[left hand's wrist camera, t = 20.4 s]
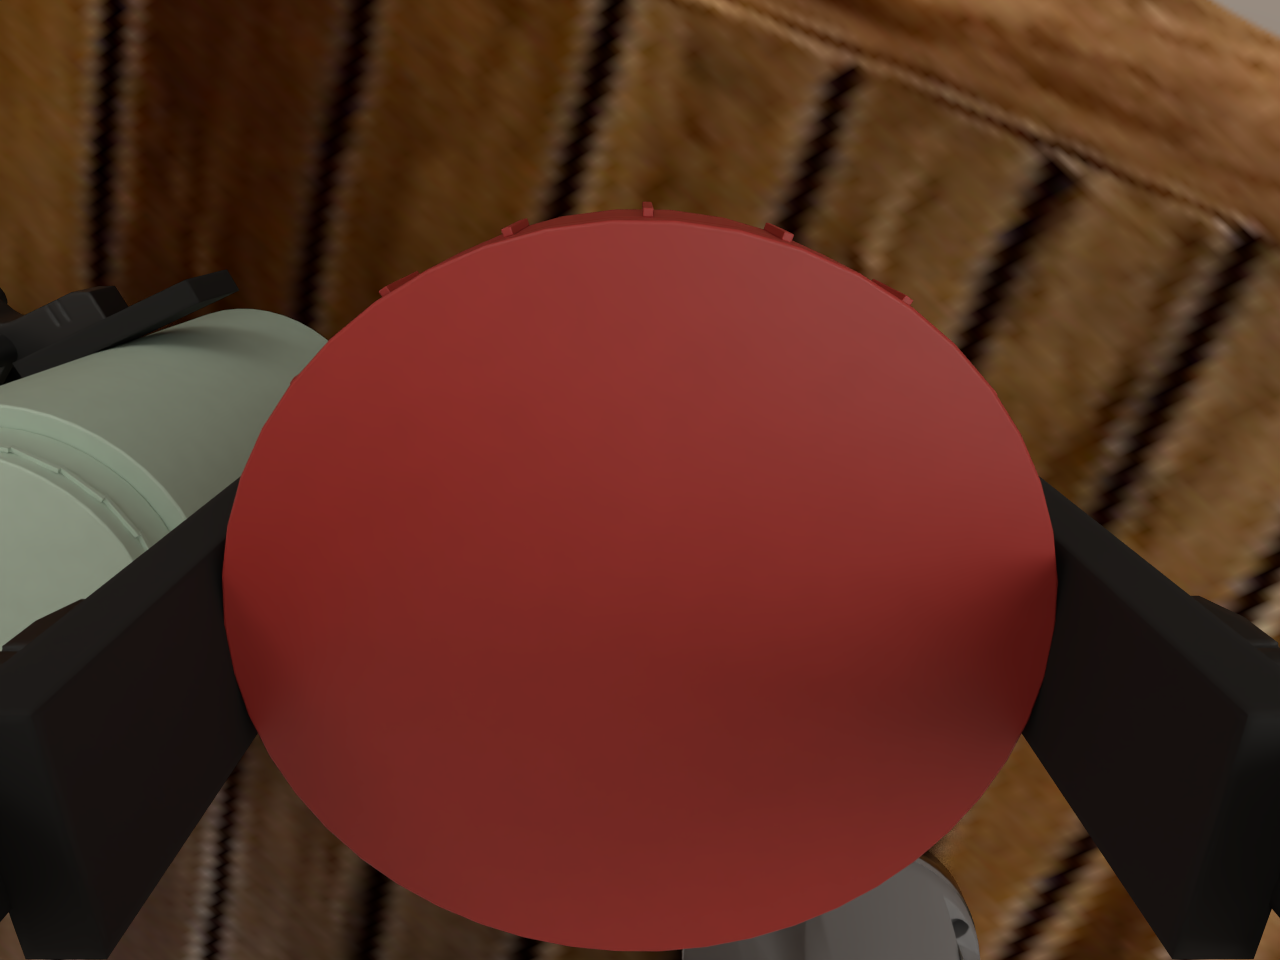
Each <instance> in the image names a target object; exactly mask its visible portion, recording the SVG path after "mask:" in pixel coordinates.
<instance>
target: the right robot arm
mask: <svg viewBox="0 0 1280 960" xmlns="http://www.w3.org/2000/svg"><path fill="white" fill-rule="evenodd" d="M237 291H239V289H238V287H237V286H236V284H235V282H234V281H233V279H232V277H231V276H230V274H229V272H228V271H227V269H226V270H222V271H218V272H214V273H210V274H206V275H202V276H198V277H194V278H190V279H187V280H184V281H182V282H180V283H178V284H176V285H174V286H172V287H169V288H167V289H165V290H163V291H161V292H159V293H157V294H155V295H153V296H151V297H149V298H147V299H145V300H142V301H140V302H138V303H136V304H134V305H132V306H130V307H128V306H127V304H126V303H125V301H124V299H123V298H122V296H121V295H120V293H119V292H118V290H117V289H116V287H115V286H98V287H93V288H89V289H84V290H80V291H75V292H71V293H69V294H67V295H65V296H63V297H61V298H59V299H57V300H55V301H53V302H51V303H49V304H47V305H45V306H43V307H41V308H39V309H36V310H34V311H32V312H30V313H28V314H26V315H22V314H20V313H18V312H16V311H15V310H13V309H12V308H11V307H10V306H8V305H7V298H6V295H5V293H4V292H3V291H2V289H1V288H0V386H1V385H4V384H7V383H10V382H13V381H16V380H19V379H21V378H24V377H27V376H30V375H33V374H36V373H39V372H42V371H45V370H48V369H51V368H53V367H56V366H59V365H62V364H65V363H68V362H71V361H74V360H77V359H80V358H82V357H85V356H88V355H91V354H94V353H97V352H100V351H103V350H106V349H109V348H112V347H114V346H117V345H120V344H123V343H126V342H129V341H132V340H135V339H137V338H140V337H142V336H144V335H146V334H148V333H150V332H152V331H154V330H156V329H159V328H161V327H163V326H165V325H167V324H169V323H171V322H173V321H175V320H178V319H180V318H182V317H184V316H186V315H188V314H190V313H192V312H194V311H197V310H199V309H201V308H203V307H205V306H207V305H209V304H211V303H213V302H216V301H218V300H220V299H222V298H224V297H226V296H228V295H230V294H232V293H235V292H237Z"/></svg>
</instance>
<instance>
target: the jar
mask: <svg viewBox="0 0 1280 960" xmlns="http://www.w3.org/2000/svg"><path fill="white" fill-rule="evenodd" d="M327 342H328V340H327V339H325V338H324V337H322V336H321V335H320V334H318V333H317V332H315V331H314V330H312V329H311V328H309V327H307V326H305V325H303V324H302V323H300V322H298V321H295V320H293V319H291V318H288V317H286V316H283V315H279V314H276V313H272V312H269V311H262V310H255V309H232V310H223V311H219V312H215V313H211V314H207V315H205V316H202V317H199V318H196V319H193V320H190V321H187V322H184V323H181V324H178V325H176V326H173V327H170V328H167V329H164V330H161V331H158V332H155V333H152V334H149V335H146V336H144V337H141V338H138V339H135V340H132V341H129V342H126V343H123V344H120V345H117V346H114V347H112V348H109V349H106V350H103V351H100V352H97V353H94V354H91V355H88V356H85V357H82V358H80V359H77V360H74V361H71V362H68V363H65V364H62V365H59V366H56V367H53V368H51V369H48V370H45V371H42V372H39V373H36V374H33V375H30V376H27V377H24V378H21V379H19V380H16V381H13V382H10V383H7V384H4V385H1V386H0V651H2V646H3V645H4V644H6V643H7V642H8V641H10V640H11V639H12V638H14V637H15V636H16V635H18V634H19V633H20V632H21V631H23V630H24V629H25V628H27V627H28V626H29V625H31V624H32V623H33V622H35V621H36V620H38V619H40V618H42V617H44V616H46V615H49V614H51V613H53V612H55V611H57V610H59V609H61V608H63V607H65V606H67V605H69V604H72V603H74V602H76V601H78V600H80V599H86V598H87V597H88V596H90V595H91V594H92V593H93V592H95V591H96V590H97V589H98V588H100V587H101V586H102V585H103V584H105V583H106V582H107V581H109V580H110V579H111V578H112V577H114V576H115V575H116V574H117V573H119V572H120V571H121V570H122V569H124V568H125V567H126V566H128V565H129V564H130V563H131V562H133V561H134V560H135V559H136V558H138V557H139V556H140V555H141V554H143V553H144V552H145V551H147V550H148V549H149V548H150V547H152V546H153V545H154V544H155V543H157V542H158V541H159V540H160V539H162V538H163V537H164V536H166V535H167V534H168V533H169V532H171V531H172V530H173V529H174V528H176V527H177V526H178V525H179V524H181V523H182V522H183V521H184V520H186V519H187V518H188V517H190V516H191V515H192V514H193V513H195V512H196V511H197V510H198V509H200V508H201V507H202V506H203V505H205V504H206V503H207V502H209V501H210V500H211V499H212V498H214V497H215V496H216V495H217V494H219V493H220V492H221V491H222V490H224V489H225V488H226V487H228V486H229V485H230V484H231V483H233V482H234V481H235V480H236V479H238V478H239V477H240V476H241V474H242V472H243V470H244V468H245V465H246V463H247V461H248V459H249V456H250V454H251V452H252V450H253V447H254V445H255V443H256V441H257V438H258V436H259V434H260V432H261V429H262V427H263V426H264V424H265V423H266V421H267V420H268V418H269V417H270V415H271V413H272V412H273V410H274V409H275V407H276V406H277V404H278V403H279V401H280V400H281V398H282V396H283V395H284V393H285V392H286V390H287V389H288V387H289V386H290V382H291V381H292V379H293V378H294V377H295V376H297V375H298V374H299V373H300V372H301V371H302V370H303V369H304V368H305V367H306V365H307V364H308V363H309V362H310V361H311V360H312V359H313V358H314V356H315V355H316V354H317V353H318V352H319V351H320V350H321V349H322V347H323V346H324V345H325V344H326V343H327Z"/></svg>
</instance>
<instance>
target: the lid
mask: <svg viewBox="0 0 1280 960" xmlns="http://www.w3.org/2000/svg"><path fill="white" fill-rule="evenodd" d="M501 231H502V235H500V236H497V237H495V238H493V239H490V240H488V241H486V242H483V243H481V244H479V245H476V246H474V247H472V248H470V249H467V250H465V251H463V252H461V253H459V254H457V255H455V256H453V257H451V258H449V259H447V260H445V261H443V262H441V263H439V264H437V265H435V266H433V267H431V268H429V269H427V270H426V271H424V272H422V273H421V274H419V272H418V271H416V272H414V273H412V274H410V275H408V276H406V277H404V278H402V279H400V280H398V281H396V282H394V283H392V284H390V285H388V286H386V287H384V288H383V289H381V290H380V291H379V293H380V294H381V296H382V298H380V299H378V300H377V301H375V302H374V303H373V304H371V305H370V306H369V307H368V308H367V309H365V310H364V311H363V312H362V313H361V314H359V315H358V316H357V317H356V318H355V319H353V320H352V321H351V322H350V323H349V324H347V325H346V326H345V327H344V328H343V329H342V330H340V331H339V332H338V333H337V334H336V335H334V336H333V337H332V338H331V339H330V340H329V341H328V342H327V343H326V344H325V345H324V346H323V347H322V349H321V350H320V351H319V352H318V353H317V354H316V355H315V356H314V358H313V359H312V360H311V361H310V362H309V363H308V364H307V365H306V367H305V368H304V369H303V370H302V371H301V372H300V373H299V374H298V375H297V376H295V377H294V378H293V379H292V381H291V382H290V386H289V387H288V389H287V390H286V392H285V393H284V395H283V396H282V398H281V400H280V401H279V403H278V404H277V406H276V407H275V409H274V410H273V412H272V413H271V415H270V417H269V418H268V420H267V421H266V423H265V424H264V426H263V427H262V429H261V432H260V434H259V436H258V438H257V441H256V443H255V445H254V447H253V450H252V452H251V454H250V456H249V459H248V461H247V463H246V465H245V468H244V470H243V472H242V474H241V477H240V481H239V484H238V488H237V492H236V495H235V499H234V503H233V507H232V510H231V514H230V518H229V521H228V525H227V534H226V543H225V552H224V561H223V571H222V588H223V611H224V625H225V630H226V635H227V640H228V645H229V650H230V655H231V660H232V665H233V670H234V674H235V677H236V680H237V683H238V686H239V689H240V692H241V695H242V697H243V700H244V703H245V706H246V709H247V712H248V715H249V717H250V719H251V721H252V722H253V724H254V726H255V728H256V730H257V732H258V734H259V736H260V738H261V740H262V742H263V744H264V746H265V748H266V750H267V752H268V754H269V756H270V757H271V759H272V760H273V762H274V763H275V764H276V766H277V767H278V769H279V770H280V772H281V773H282V775H283V776H284V777H285V779H286V780H287V782H288V783H289V785H290V786H291V788H292V789H293V790H294V792H295V793H296V795H297V796H298V797H299V798H300V799H301V800H302V801H303V802H304V804H305V805H306V806H307V807H308V808H309V809H310V810H311V811H312V812H313V814H314V815H315V816H316V817H317V818H318V819H319V820H320V821H321V823H322V824H323V825H324V826H325V827H326V828H327V829H328V830H329V831H330V832H331V833H333V834H334V835H335V836H336V837H337V838H338V839H339V840H341V841H342V842H343V843H344V844H345V845H346V846H347V847H348V848H350V849H351V850H352V851H353V852H354V853H355V854H356V855H358V856H359V857H360V858H361V859H362V860H364V861H365V862H367V863H368V864H370V865H371V866H373V867H374V868H375V869H377V870H378V871H380V872H381V873H383V874H384V875H385V876H387V877H388V878H390V879H391V880H393V881H394V882H395V883H397V884H398V885H400V886H402V887H404V888H406V889H407V890H409V891H411V892H413V893H415V894H417V895H418V896H420V897H422V898H424V899H426V900H428V901H429V902H431V903H433V904H435V905H437V906H439V907H441V908H443V909H446V910H448V911H450V912H453V913H455V914H458V915H460V916H462V917H465V918H467V919H470V920H472V921H474V922H477V923H479V924H482V925H485V926H488V927H492V928H495V929H498V930H502V931H505V932H508V933H511V934H515V935H518V936H521V937H525V938H530V939H535V940H540V941H545V942H550V943H555V944H560V945H565V946H570V947H580V948H590V949H600V950H610V951H668V950H679V949H690V948H701V947H708V946H714V945H719V944H724V943H730V942H735V941H740V940H745V939H751V938H754V937H757V936H761V935H764V934H768V933H771V932H774V931H778V930H781V929H785V928H788V927H791V926H795V925H797V924H800V923H802V922H805V921H807V920H809V919H812V918H814V917H817V916H819V915H822V914H824V913H827V912H829V911H832V910H834V909H837V908H838V907H840V906H842V905H844V904H846V903H848V902H850V901H852V900H853V899H855V898H857V897H859V896H861V895H863V894H865V893H867V892H868V891H870V890H872V889H874V888H876V887H878V886H879V885H881V884H882V883H884V882H885V881H886V880H888V879H889V878H891V877H892V876H894V875H895V874H897V873H898V872H900V871H901V870H903V869H904V868H906V867H907V866H909V865H910V864H911V863H913V862H914V861H916V860H917V859H918V858H919V857H920V856H921V855H923V854H924V853H925V852H926V851H927V850H928V849H930V848H931V847H932V846H933V845H934V844H935V843H937V842H938V841H939V840H940V839H941V838H942V837H944V836H945V835H946V834H947V833H948V832H949V831H950V830H951V829H952V828H953V827H954V826H955V825H956V824H957V823H958V822H959V821H960V819H961V818H962V817H963V816H964V815H965V814H966V813H967V812H968V811H969V810H970V809H971V807H972V806H973V805H974V804H975V803H976V802H977V801H978V800H979V799H980V798H981V796H982V795H983V793H984V792H985V791H986V789H987V788H988V786H989V785H990V784H991V782H992V781H993V779H994V778H995V777H996V775H997V774H998V772H999V771H1000V770H1001V768H1002V767H1003V765H1004V764H1005V763H1006V761H1007V760H1008V758H1009V756H1010V754H1011V752H1012V750H1013V748H1014V746H1015V745H1016V743H1017V741H1018V739H1019V737H1020V735H1021V733H1022V731H1023V730H1024V728H1025V726H1026V724H1027V722H1028V720H1029V718H1030V715H1031V712H1032V710H1033V707H1034V704H1035V701H1036V699H1037V696H1038V693H1039V690H1040V688H1041V685H1042V682H1043V680H1044V675H1045V671H1046V666H1047V661H1048V656H1049V651H1050V646H1051V641H1052V637H1053V632H1054V626H1055V618H1056V602H1057V585H1058V579H1057V568H1056V557H1055V546H1054V535H1053V528H1052V524H1051V520H1050V516H1049V512H1048V508H1047V504H1046V500H1045V496H1044V492H1043V488H1042V484H1041V481H1040V478H1039V476H1038V474H1037V471H1036V469H1035V467H1034V464H1033V462H1032V460H1031V457H1030V455H1029V453H1028V450H1027V448H1026V445H1025V443H1024V441H1023V438H1022V436H1021V434H1020V432H1019V430H1018V429H1017V427H1016V425H1015V424H1014V422H1013V421H1012V419H1011V417H1010V416H1009V414H1008V413H1007V411H1006V409H1005V408H1004V406H1003V405H1002V403H1001V401H1000V400H999V398H998V396H997V393H996V392H995V390H994V389H993V388H992V387H991V386H990V385H989V383H988V382H987V381H986V380H985V379H984V378H983V376H982V375H981V374H980V373H979V372H978V371H977V369H976V368H975V367H974V366H973V365H972V364H971V362H970V361H969V360H968V359H967V358H966V356H965V355H964V354H963V353H962V352H961V351H960V349H959V348H958V347H957V346H956V345H955V344H954V343H953V342H952V341H951V340H950V339H948V338H947V337H946V336H945V335H944V334H943V333H941V332H940V331H939V330H938V329H937V328H936V327H935V326H933V325H932V324H931V323H930V322H929V321H928V320H926V319H925V318H924V317H923V316H922V315H921V314H920V313H918V312H917V311H916V310H915V309H914V308H913V307H911V306H910V304H911V303H912V302H913V300H912V299H910V298H909V297H908V296H907V295H905V294H903V293H901V292H899V291H897V290H895V289H893V288H891V287H889V286H887V285H885V284H883V283H881V282H879V281H877V280H875V279H873V280H872V281H871V280H869V279H868V278H866V277H865V276H863V275H861V274H860V273H858V272H856V271H854V270H852V269H850V268H848V267H846V266H844V265H842V264H840V263H838V262H836V261H835V260H833V259H831V258H829V257H827V256H825V255H823V254H821V253H818V252H816V251H814V250H812V249H809V248H807V247H805V246H803V245H801V244H798V243H796V242H794V241H792V239H793V236H794V235H793V234H792V233H790V232H787V231H785V230H783V229H781V228H779V227H777V226H775V225H772V224H769V223H766V225H765V227H764V230H763V229H760V228H757V227H753V226H750V225H746V224H743V223H740V222H736V221H733V220H729V219H726V218H721V217H715V216H708V215H701V214H694V213H687V212H681V211H674V210H653V206H652V203H651V202H643V203H642V210H608V211H601V212H593V213H585V214H578V215H570V216H562V217H559V218H555V219H552V220H548V221H544V222H541V223H537V224H533V225H530V226H529V223H528V220H527V218H526V219H523V220H519V221H517V222H515V223H513V224H511V225H509V226H507V227H505V228H503V229H502V230H501Z"/></svg>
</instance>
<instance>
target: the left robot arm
mask: <svg viewBox="0 0 1280 960" xmlns="http://www.w3.org/2000/svg"><path fill="white" fill-rule="evenodd" d="M240 477H241V476H240ZM240 477H239V478H238V479H236V480H235V481H234V482H233V483H231V484H230V485H229V486H228V487H226V488H225V489H224V490H222V491H221V492H220V493H219V494H217V495H216V496H215V497H214V498H212V499H211V500H210V501H209V502H207V503H206V504H205V505H203V506H202V507H201V508H200V509H198V510H197V511H196V512H195V513H193V514H192V515H191V516H190V517H188V518H187V519H186V520H184V521H183V522H182V523H181V524H179V525H178V526H177V527H176V528H174V529H173V530H172V531H171V532H169V533H168V534H167V535H166V536H164V537H163V538H162V539H160V540H159V541H158V542H157V543H155V544H154V545H153V546H152V547H150V548H149V549H148V550H147V551H145V552H144V553H143V554H141V555H140V556H139V557H138V558H136V559H135V560H134V561H133V562H131V563H130V564H129V565H128V566H126V567H125V568H124V569H122V570H121V571H120V572H119V573H117V574H116V575H115V576H114V577H112V578H111V579H110V580H109V581H107V582H106V583H105V584H103V585H102V586H101V587H100V588H98V589H97V590H96V591H95V592H93V593H92V594H91V595H90V596H88V597H87V598H86V599H80V600H78V601H76V602H74V603H72V604H69V605H67V606H65V607H63V608H61V609H59V610H57V611H55V612H53V613H51V614H49V615H46V616H44V617H42V618H40V619H38V620H36V621H35V622H33V623H32V624H31V625H29V626H28V627H27V628H25V629H24V630H23V631H21V632H20V633H19V634H18V635H16V636H15V637H14V638H12V639H11V640H10V641H8V642H7V643H6V644H4V645H3V646H2V651H0V922H1V920H2V919H3V918H4V917H5V916H6V915H7V913H8V912H9V914H10V917H11V920H12V922H13V925H14V928H15V931H16V934H17V936H18V939H19V942H20V945H21V947H22V950H23V953H24V956H25V959H107V958H108V957H109V955H110V954H111V952H112V951H113V949H114V948H115V946H116V945H117V943H118V942H119V940H120V939H121V937H122V936H123V934H124V933H125V931H126V930H127V928H128V927H129V925H130V924H131V922H132V921H133V919H134V918H135V916H136V915H137V913H138V912H139V910H140V909H141V907H142V906H143V904H144V903H145V901H146V900H147V898H148V897H149V895H150V894H151V892H152V891H153V889H154V888H155V886H156V885H157V883H158V882H159V880H160V879H161V877H162V876H163V874H164V873H165V871H166V870H167V868H168V867H169V865H170V864H171V862H172V861H173V859H174V858H175V856H176V855H177V853H178V852H179V850H180V849H181V847H182V846H183V844H184V843H185V841H186V840H187V838H188V837H189V835H190V834H191V832H192V831H193V829H194V828H195V826H196V825H197V823H198V822H199V820H200V819H201V817H202V816H203V814H204V813H205V811H206V810H207V808H208V807H209V805H210V804H211V802H212V801H213V799H214V798H215V796H216V795H217V793H218V792H219V790H220V789H221V787H222V786H223V784H224V783H225V781H226V780H227V778H228V777H229V775H230V774H231V772H232V771H233V769H234V768H235V766H236V765H237V763H238V762H239V761H240V759H241V758H242V756H243V755H244V753H245V752H246V750H247V749H248V747H249V746H250V744H251V743H252V741H253V740H254V738H255V737H256V735H257V734H258V732H257V730H256V728H255V726H254V724H253V722H252V721H251V719H250V717H249V715H248V712H247V709H246V706H245V703H244V700H243V697H242V695H241V692H240V689H239V686H238V683H237V680H236V677H235V674H234V670H233V665H232V660H231V655H230V650H229V645H228V640H227V635H226V630H225V625H224V611H223V588H222V571H223V561H224V552H225V543H226V534H227V525H228V521H229V518H230V514H231V510H232V507H233V503H234V499H235V495H236V492H237V488H238V484H239V481H240ZM1039 478H1040V477H1039ZM1040 481H1041V484H1042V488H1043V492H1044V496H1045V500H1046V504H1047V508H1048V512H1049V516H1050V520H1051V524H1052V528H1053V535H1054V546H1055V557H1056V568H1057V579H1058V585H1057V602H1056V618H1055V626H1054V632H1053V637H1052V641H1051V646H1050V651H1049V656H1048V661H1047V666H1046V671H1045V675H1044V680H1043V682H1042V685H1041V688H1040V690H1039V693H1038V696H1037V699H1036V701H1035V704H1034V707H1033V710H1032V712H1031V715H1030V718H1029V720H1028V722H1027V724H1026V726H1025V728H1024V730H1023V731H1022V734H1023V736H1024V737H1025V739H1026V740H1027V742H1028V743H1029V745H1030V746H1031V748H1032V749H1033V751H1034V752H1035V754H1036V755H1037V757H1038V758H1039V760H1040V761H1041V763H1042V764H1043V766H1044V767H1045V769H1046V770H1047V772H1048V773H1049V775H1050V776H1051V778H1052V779H1053V781H1054V782H1055V784H1056V785H1057V787H1058V788H1059V790H1060V791H1061V793H1062V794H1063V796H1064V797H1065V799H1066V800H1067V802H1068V803H1069V805H1070V806H1071V808H1072V809H1073V811H1074V812H1075V814H1076V815H1077V817H1078V818H1079V820H1080V821H1081V823H1082V824H1083V826H1084V827H1085V829H1086V830H1087V832H1088V833H1089V835H1090V836H1091V838H1092V839H1093V841H1094V842H1095V844H1096V845H1097V847H1098V848H1099V850H1100V851H1101V853H1102V854H1103V856H1104V857H1105V859H1106V860H1107V862H1108V863H1109V865H1110V866H1111V868H1112V869H1113V871H1114V872H1115V874H1116V875H1117V877H1118V878H1119V880H1120V881H1121V883H1122V884H1123V886H1124V887H1125V889H1126V890H1127V892H1128V893H1129V895H1130V896H1131V898H1132V899H1133V901H1134V902H1135V904H1136V905H1137V907H1138V908H1139V910H1140V911H1141V913H1142V914H1143V916H1144V917H1145V919H1146V920H1147V922H1148V923H1149V925H1150V926H1151V928H1152V929H1153V931H1154V932H1155V934H1156V935H1157V937H1158V938H1159V940H1160V941H1161V943H1162V944H1163V946H1164V947H1165V949H1166V950H1167V952H1168V953H1169V955H1170V956H1171V958H1172V959H1254V956H1255V954H1256V951H1257V948H1258V945H1259V943H1260V940H1261V937H1262V934H1263V931H1264V929H1265V926H1266V923H1267V920H1268V918H1269V915H1270V912H1271V909H1273V910H1274V912H1275V913H1276V914H1277V915H1278V916H1279V917H1280V648H1279V647H1278V642H1276V641H1275V640H1274V639H1272V638H1271V637H1270V636H1268V635H1267V634H1266V633H1264V632H1263V631H1262V630H1260V629H1259V628H1258V627H1256V626H1255V625H1254V624H1252V623H1251V622H1250V621H1249V620H1247V619H1246V618H1245V617H1242V616H1240V615H1238V614H1236V613H1234V612H1232V611H1230V610H1228V609H1226V608H1224V607H1221V606H1219V605H1217V604H1215V603H1213V602H1211V601H1209V600H1207V599H1205V598H1202V597H1200V596H1190V595H1189V594H1187V593H1186V592H1185V591H1183V590H1182V589H1181V588H1180V587H1178V586H1177V585H1176V584H1175V583H1173V582H1172V581H1171V580H1170V579H1168V578H1167V577H1166V576H1165V575H1163V574H1162V573H1161V572H1159V571H1158V570H1157V569H1156V568H1154V567H1153V566H1152V565H1151V564H1149V563H1148V562H1147V561H1146V560H1144V559H1143V558H1142V557H1140V556H1139V555H1138V554H1137V553H1135V552H1134V551H1133V550H1132V549H1130V548H1129V547H1128V546H1127V545H1125V544H1124V543H1123V542H1121V541H1120V540H1119V539H1118V538H1116V537H1115V536H1114V535H1113V534H1111V533H1110V532H1109V531H1108V530H1106V529H1105V528H1104V527H1103V526H1101V525H1100V524H1099V523H1097V522H1096V521H1095V520H1094V519H1092V518H1091V517H1090V516H1089V515H1087V514H1086V513H1085V512H1084V511H1082V510H1081V509H1080V508H1078V507H1077V506H1076V505H1075V504H1073V503H1072V502H1071V501H1070V500H1068V499H1067V498H1066V497H1065V496H1063V495H1062V494H1061V493H1059V492H1058V491H1057V490H1056V489H1054V488H1053V487H1052V486H1051V485H1049V484H1048V483H1047V482H1046V481H1044V480H1043V479H1042V478H1040ZM681 952H682V960H980V954H979V945H978V940H977V936H976V931H975V926H974V922H973V919H972V916H971V914H970V911H969V909H968V907H967V904H966V902H965V900H964V898H963V895H962V893H961V891H960V889H959V887H958V885H957V883H956V881H955V879H954V878H953V877H952V875H951V874H950V872H949V871H948V870H947V869H946V867H945V866H944V865H943V864H942V863H941V862H940V861H939V860H938V859H937V858H936V857H935V856H933V855H932V854H931V853H929V852H928V851H926V852H925V853H924V854H923V855H921V856H920V857H919V858H918V859H917V860H916V861H914V862H913V863H911V864H910V865H909V866H907V867H906V868H904V869H903V870H901V871H900V872H898V873H897V874H895V875H894V876H892V877H891V878H889V879H888V880H886V881H885V882H884V883H882V884H881V885H879V886H878V887H876V888H874V889H872V890H870V891H868V892H867V893H865V894H863V895H861V896H859V897H857V898H855V899H853V900H852V901H850V902H848V903H846V904H844V905H842V906H840V907H838V908H837V909H834V910H832V911H829V912H827V913H824V914H822V915H819V916H817V917H814V918H812V919H809V920H807V921H805V922H802V923H800V924H797V925H795V926H791V927H788V928H785V929H781V930H778V931H774V932H771V933H768V934H764V935H761V936H757V937H754V938H751V939H745V940H740V941H735V942H730V943H724V944H719V945H714V946H708V947H701V948H690V949H681Z"/></svg>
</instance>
